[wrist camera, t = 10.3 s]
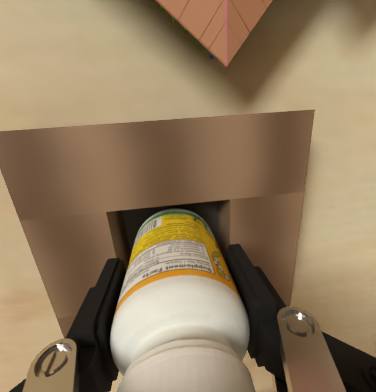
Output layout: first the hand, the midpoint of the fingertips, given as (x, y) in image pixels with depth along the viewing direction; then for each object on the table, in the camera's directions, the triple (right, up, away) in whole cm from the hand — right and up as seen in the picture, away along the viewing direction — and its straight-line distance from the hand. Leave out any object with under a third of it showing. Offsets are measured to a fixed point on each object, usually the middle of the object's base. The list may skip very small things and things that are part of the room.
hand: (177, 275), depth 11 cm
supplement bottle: (0, +1, +4) cm, 4 cm away
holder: (-1, +1, +5) cm, 5 cm away
